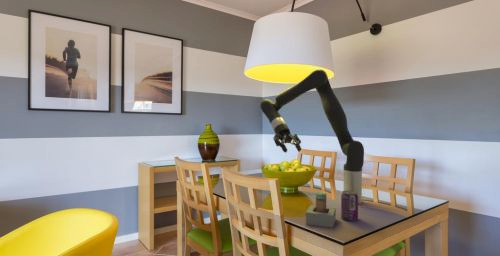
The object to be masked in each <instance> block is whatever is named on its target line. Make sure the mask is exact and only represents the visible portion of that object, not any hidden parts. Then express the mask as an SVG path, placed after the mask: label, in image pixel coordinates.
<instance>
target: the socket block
mask: <svg viewBox="0 0 500 256" xmlns="http://www.w3.org/2000/svg"><path fill="white" fill-rule="evenodd" d="M336 210H337V208H336V207H331V206H330V207H329V206H326V213H322V212H316V205H312V204H310V206H309V207H308V209H307V210H306V212H305V224H306V225H309V224H311V225H310V226H317V225H318V226H319V227H325V228H331V227H332V229H333V228H334V225H335V222H336V218H337V217H336V216H337V213H336ZM318 226H317V227H318Z"/></svg>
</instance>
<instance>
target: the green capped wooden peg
mask: <svg viewBox="0 0 500 256" xmlns="http://www.w3.org/2000/svg"><path fill="white" fill-rule="evenodd" d="M315 206H316V212H322V213H326V207H327V193H324V192H316V193H315Z"/></svg>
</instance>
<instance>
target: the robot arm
mask: <svg viewBox="0 0 500 256" xmlns="http://www.w3.org/2000/svg"><path fill="white" fill-rule="evenodd" d="M312 90H316V91H317V93H318V94H317V95H318V96H319V98H320V101H321V105H322V108H323V112H324V114H325V117H326V118H327V120H328V122H329V124H330V126H331V128H332V130H333V132H334V134H335V136H336V139H337V140H338V144H339V147H340V150H341V151H342V153H343V154H344V155H345V156H346V162H345V163H344V164H343V191H346V190H349V191H355V192H357V195H358V205H361V204H362V200H363V196H362V195H363V191H362V190H363V167H364V163H365V162H364V161H365V147H364V145H363V144H362V142H361V141H359V140H354V138H353V137H352V135H351V133H350V131H349V128H348V120H347V115H346V113H345V111H344V108H343V106H342V105H341V102H340V101H339V99H338V98H337V96H336V94H335V92H334V91H333V88H332V86H331V84H330V80H329V77H328V74H327V72H326V71H325V70H324V69H320V68H318V69H314V70H312V71H311V72H310V73H309V74H308V75H307V76H306V77H304V78H303V79H302V80H300V81H299V82H298V83H296V84H294V85H292V86H289V88H287V89H285V90H283V91H282V92H279V93H278V94H276V96H274V97H275V98H274V99H275V101H274V102H273V101H272V100H270V99H269V98H265V99H263V100H261V102H260V105H259V106H260V109H261V111H262V113H263V114H264V115H265V117H266V118H267V119H268V122H269V123H270V125H271V127H272V130H273V131H274V136H273V137H272V138H273V142H274V143H275V145H276V147H280V148H281V150H282V152H284V153H287V152H288V148H287V146H286V144H291V145H293V146H295V149H296V150H297V152H300V153H301V151H302V146H301V143H302V140H301V139H300V138H299V136H298V134H297V133H295V134H291V130H290V128H289V127H288V124H287V123H286V121H285V120H284V119H283V117H282V115H281V114H280V112H279V111H280V110H281V109H282V108H283V107H284V106H286V105H287V104H289V103H291V102H293V101H294V100H296V99H297V98H299V97H300V96H302V95H303V94H305V93H307V92H309V91H312Z"/></svg>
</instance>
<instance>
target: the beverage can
mask: <svg viewBox="0 0 500 256" xmlns="http://www.w3.org/2000/svg"><path fill="white" fill-rule="evenodd" d="M340 198H341V199H340V201H341V203H340V216H341V218H342V219H344V220H346V221H351V222H353V221H356V220H358V219H359V204H358V195H357V192H355V191H349V190H346V191H344V190H342V193H341V197H340Z"/></svg>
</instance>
